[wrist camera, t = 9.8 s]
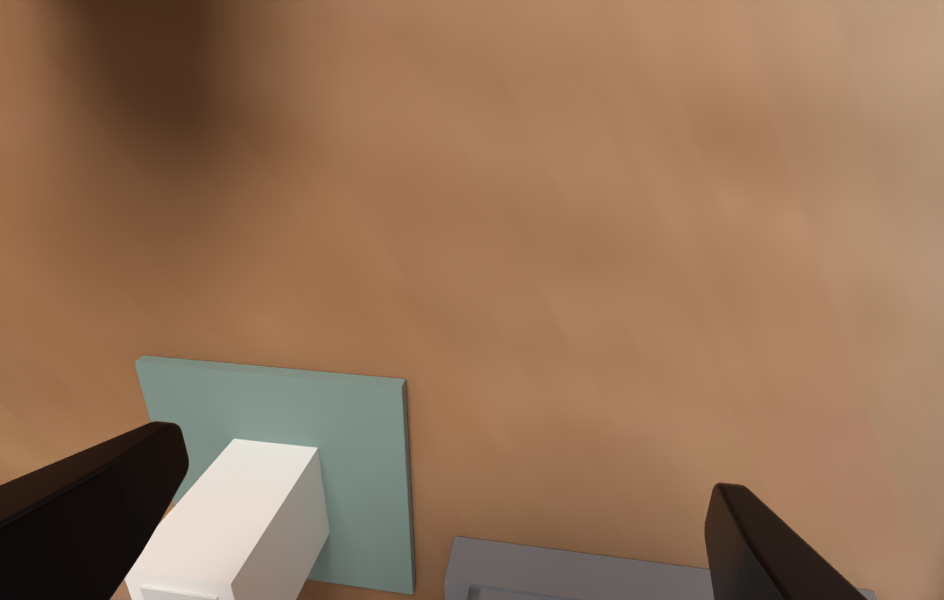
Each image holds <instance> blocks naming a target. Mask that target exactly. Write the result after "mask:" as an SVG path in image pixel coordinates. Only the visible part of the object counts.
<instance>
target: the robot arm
mask: <svg viewBox="0 0 944 600" xmlns="http://www.w3.org/2000/svg"><path fill="white" fill-rule="evenodd" d="M188 468H189V457H188V453H187V449H186V445H185V441H184V437H183V433H182V430H181V428H180V426H179V425H178V424H176V423H171V422H162V421H154V422H151V423H148V424H146V425H143V426H141V427H139V428H136V429H134V430H131V431H129V432H127V433H124V434H122V435H119V436H117V437H115V438H112V439H110V440H108V441H105V442H103V443H100V444H98V445H96V446H93V447H91V448H88V449H86V450H84V451H81V452H79V453H76V454H74V455H72V456H69V457H67V458H64V459H62V460H60V461H57V462H55V463H53V464H50V465H48V466H45V467H43V468H41V469H38V470H36V471H33V472H31V473H29V474H26V475H24V476H21V477H19V478H17V479H14V480H12V481H10V482H7V483H5V484H2V485H0V600H110V599H111V597H112V596H113V594H114V593H115V591H116V590H117V589H118V587H119V586H120V584H121V583H122V581H123V580H124V578H125V577H126V576H127V574H128V573H129V571H130V570H131V568H132V567H133V565H134V564H135V562H136V561H137V559H138V558H139V556H140V555H141V553H142V552H143V550H144V548H145V547H146V545H147V543H148V542H149V540H150V538H151V536H152V535H153V533H154V531H155V529H156V528H157V526H158V524H159V522H160V521H161V519H162V517H163V515H164V513H165V512H166V510H167V508H168V506H169V505H170V503H171V501H172V499H173V498H174V496H175V494H176V492H177V490H178V489H179V487H180V485H181V483H182V482H183V480H184V478H185V476H186V474H187V472H188ZM705 542H706V549H707V555H708V562H709V568H710V575H711V582H712V588H713V595H714V600H868V599H867V598H866V597H865V596H864V595H863V594H861V593H860V592H859V591H858V590H857V589H856V588H855V587H854V586H853V585H852V584H851V583H850V582H848V581H847V580H846V579H845V578H844V577H843V576H842V575H841V574H840V573H839V572H838V571H837V570H836V569H834V568H833V567H832V566H831V565H830V564H829V563H828V562H827V561H826V560H825V559H824V558H823V557H822V556H820V555H819V554H818V553H817V552H816V551H815V550H814V549H813V548H812V547H811V546H810V545H809V544H807V543H806V542H805V541H804V540H803V539H802V538H801V537H800V536H799V535H798V534H797V533H796V532H795V531H793V530H792V529H791V528H790V527H789V526H788V525H787V524H786V523H785V522H784V521H783V520H782V519H780V518H779V517H778V516H777V515H776V514H775V513H774V512H773V511H772V510H771V509H770V508H769V507H768V506H766V505H765V504H764V503H763V502H762V501H761V500H760V499H759V498H758V497H757V496H756V495H755V494H753V493H752V492H751V491H750V490H749V489H748V488H747V487H745V486H743V485H739V484H730V483H717V484H715V486H714V488H713V491H712V495H711V499H710V503H709V508H708V512H707V516H706V521H705Z"/></svg>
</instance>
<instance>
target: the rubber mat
mask: <svg viewBox="0 0 944 600" xmlns="http://www.w3.org/2000/svg"><path fill="white" fill-rule="evenodd" d="M135 366H136V370H137V373H138V377H139V381H140V384H141V388H142V391H143V395H144V399H145V402H146V406H147V410H148V413H149V417H150V420H151V422H154V421H162V422H171V423H176V424H178V425H179V426H180V428H181V430H182V433H183V437H184V441H185V445H186V449H187V453H188V457H189V468H188V472H187V474H186V476H185V478H184V480H183V482H182V483H181V485H180V487H179V489H178V490H177V492H176V494H175V496H174V498H173V499H172V500H173V504H174V507H175V506H176V504H177V503H178V502H179V501H180V500H181V499H182V498H183V496H184V495H185V494H186V493H187V492H188V491H189V490H190V488H191V487H192V486H193V485H194V484H195V483H196V482H197V480H198V479H199V478H200V477H201V476H202V475H203V473H204V472H205V471H206V470H207V469H208V468H209V467H210V465H211V464H212V463H213V462H214V461H215V460H216V459H217V457H218V456H219V455H220V454H221V453H222V452H223V451H224V449H225V448H226V447H227V446H228V445H229V444H230V443H231V441H232V440H233V439H241V440H251V441H260V442H269V443H279V444H288V445H297V446H306V447H316V448H318V452H319V459H320V466H321V473H322V481H323V488H324V495H325V502H326V510H327V517H328V524H329V531H330V533H329V535H328V537H327V539H326V541H325V543H324V545H323V547H322V549H321V551H320V553H319V555H318V557H317V559H316V561H315V563H314V565H313V567H312V569H311V571H310V573H309V575H308V577H307V579H308V580H315V581H322V582H328V583H335V584H342V585H349V586H356V587H362V588H369V589H376V590H383V591H389V592H396V593H403V594H410V595H413V593H414V590H415V586H416V574H415V555H414V535H413V515H412V496H411V476H410V456H409V437H408V417H407V397H406V379H398V378H387V377H376V376H365V375H354V374H343V373H332V372H321V371H310V370H299V369H288V368H277V367H266V366H255V365H244V364H233V363H222V362H211V361H200V360H189V359H178V358H167V357H156V356H145V355H144V356H142V357H141V358H140V359H138V360H137V361H135Z"/></svg>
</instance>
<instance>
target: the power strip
mask: <svg viewBox="0 0 944 600" xmlns="http://www.w3.org/2000/svg"><path fill="white" fill-rule="evenodd" d="M444 589H445V600H714V595H713V588H712V582H711V575H710V570H709V569H702V568H694V567H686V566H679V565H671V564H663V563H656V562H648V561H640V560H633V559H625V558H618V557H610V556H602V555H595V554H587V553H579V552H572V551H564V550H556V549H549V548H541V547H533V546H526V545H518V544H510V543H503V542H495V541H488V540H480V539H472V538H465V537H457V536H455V537H454V541H453V545H452V549H451V554H450V558H449V562H448V566H447V570H446V575H445V579H444ZM857 590H858V591H859V592H860V593H861V594H863V595H864V596H865V597H866V598H867V599H868V600H877V598H876V597H875V595H874V593H873V591H870V590H862V589H857Z"/></svg>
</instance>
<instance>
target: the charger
mask: <svg viewBox="0 0 944 600" xmlns="http://www.w3.org/2000/svg"><path fill="white" fill-rule="evenodd" d="M329 533H330V531H329V524H328V517H327V510H326V502H325V495H324V488H323V481H322V473H321V466H320V459H319V452H318V448H316V447H306V446H297V445H288V444H279V443H269V442H260V441H251V440H241V439H233V440H232V441H231V443H230V444H229V445H228V446H227V447H226V448H225V449H224V451H223V452H222V453H221V454H220V455H219V456H218V457H217V459H216V460H215V461H214V462H213V463H212V464H211V465H210V467H209V468H208V469H207V470H206V471H205V472H204V473H203V475H202V476H201V477H200V478H199V479H198V480H197V482H196V483H195V484H194V485H193V486H192V487H191V488H190V490H189V491H188V492H187V493H186V494H185V495H184V496H183V498H182V499H181V500H180V501H179V502H178V503H177V504H176V506H175V507H174V508H173V509H172V510H171V511H170V512H169V514H168V515H167V516H166V517H165V518H164V519H163V520H162V522H161V523H160V524H159V525H158V526H157V528H156V529H155V531H154V533H153V535H152V536H151V538H150V540H149V542H148V543H147V545H146V547H145V548H144V550H143V552H142V553H141V555H140V556H139V558H138V559H137V561H136V562H135V564H134V565H133V567H132V568H131V570H130V571H129V573H128V574H127V576H126V577H125V581H126V584H127V587H128V590H129V592H130V595H131V598H132V600H296V599H297V597H298V595H299V593H300V591H301V589H302V587H303V585H304V583H305V581H306V579H307V577H308V575H309V573H310V571H311V569H312V567H313V565H314V563H315V561H316V559H317V557H318V555H319V553H320V551H321V549H322V547H323V545H324V543H325V541H326V539H327V537H328V535H329Z"/></svg>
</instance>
